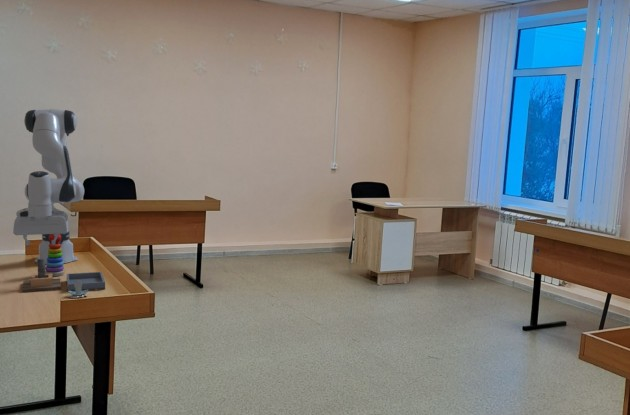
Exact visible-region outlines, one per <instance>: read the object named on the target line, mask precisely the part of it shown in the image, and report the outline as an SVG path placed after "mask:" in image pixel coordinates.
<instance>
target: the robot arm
mask: <svg viewBox="0 0 630 415" xmlns="http://www.w3.org/2000/svg"><path fill="white" fill-rule="evenodd" d="M23 122H24V123H23V124H24V126H25V128H26V130H27V131H28V132H29V133H32V137H31V138H32V146H33V148H34V150H35V151H36V152H37V153H38V154H40V155H41V166H42V168H43V169H44V170H45V171H43V170H42V171H41V170H40V171H38V170H37V171H33V172H30V173H29V174H28V182H27V184H26V185H25V187H24V195H25V197H26V199H27V200H28V202H27V203H28V204H27V206H28V207H26V208H22V209H18V210H16V213H15V214H16V217H15V219H14V221H13V228H12V229H13V230H12V231H13V232H12V233H13V235H15V236H22V239H23V240H24V241H25V243H26V244H25V245H26V246H27V247H28V246H31V240H28V239H27V237H28V236H30V235H31V236H33V235H34V236H35V235H41V238H42V241H41V242H40V243H39V245H38V256H37V257H36V258H35V259H34V263H38V259H45V265H46V263H47V262H48V261H47V258H48V253H49V252H48V249H49V244H50V243H51V242H50V241H49V235H50V234H54V236H56V237H55V238H54V240H52V245H55V241H56V239H57V237H58V234H60V235H61V241H60V242H59V243H60V244H61V247H60V248H61V249H62V251H61V253H62V258H63V260H62V261H63V263H64V264H66V263H71V262H75V261H76V262H77V261H78V260H79V259H78V257H77V256H75V255H74V243H73V242H72V241H71V240H70V237H71V234H70V230H69V215H68V213H67V212H65V211H63V210H60V209H57V208H56V207H55V206H54V204H70V203H75V202H80V201H81V200H83V199H84V198H83V197H84V195H85V187H84V185H83V183H81V182H80V181H79V180H78V179H77V178H76V177H74V175H73V171H72V163H71V159H70V153H69V150H68V146H67V138H66V137H69V135H70V134H73V133H74V132H75V130H76V127H77V125H78V120H77V117H76V115H75V113H74V112H73V111H71V110H68V109H67V110H66V109H65V110H63V109H52V108H51V109H30V110H28V111H27V112H26V113H25V115H24V120H23ZM50 173H51V174H54V175H55V176H56V178H51V176H50Z"/></svg>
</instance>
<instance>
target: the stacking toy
mask: <svg viewBox="0 0 630 415" xmlns="http://www.w3.org/2000/svg"><path fill="white" fill-rule="evenodd" d="M55 237H56V236H54V234H50V235H49V241H50V242H51V243H50V244H49V249H48V252H49V253H48V258H47V261H48V262H47V263H46V264H45V274H52V277H60V276H63V275H65V273H66V272H65V270H64V269H65V266H64V265H65V263H63V261H62V260H63V258H62V253H61V251H62V249H61V248H60V247H61V244H60V243H59V242H60V241H61V235H60V234H58V237H57V239H56V241H55V245H52V240H54V238H55Z"/></svg>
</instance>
